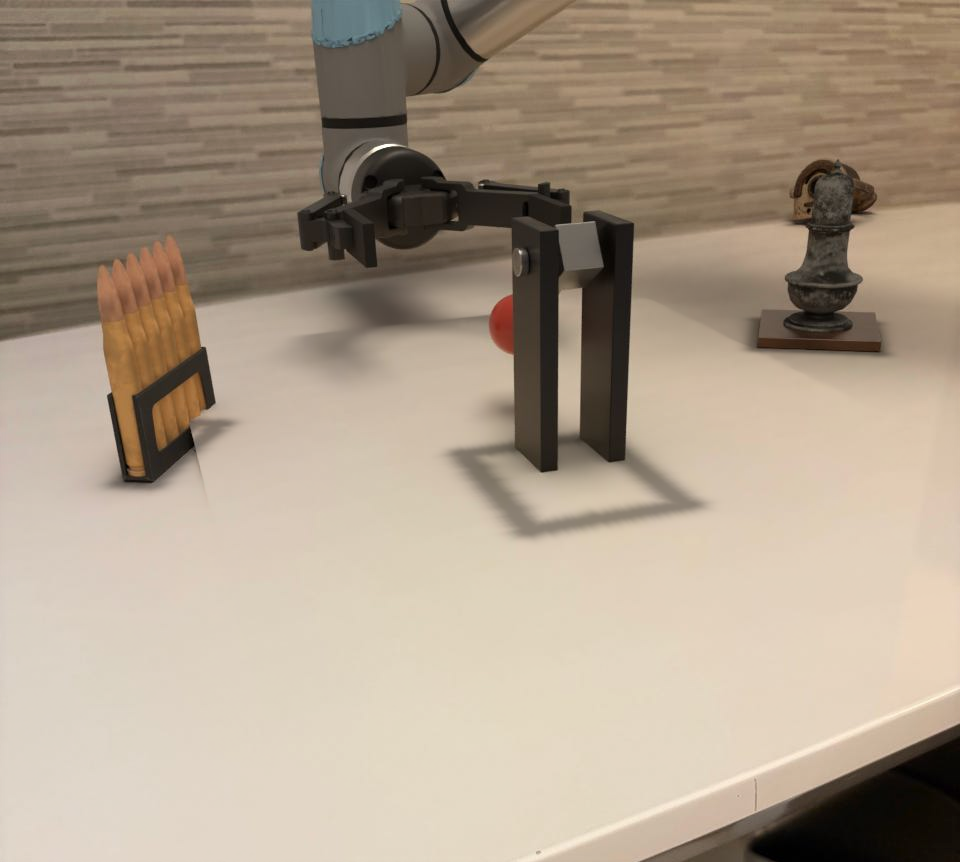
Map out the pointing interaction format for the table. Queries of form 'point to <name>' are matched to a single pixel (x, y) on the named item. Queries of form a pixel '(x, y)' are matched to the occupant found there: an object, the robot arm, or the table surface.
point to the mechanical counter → (807, 182)
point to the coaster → (819, 333)
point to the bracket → (599, 340)
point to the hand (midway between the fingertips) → (470, 236)
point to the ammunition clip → (152, 360)
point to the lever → (575, 271)
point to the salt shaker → (825, 260)
